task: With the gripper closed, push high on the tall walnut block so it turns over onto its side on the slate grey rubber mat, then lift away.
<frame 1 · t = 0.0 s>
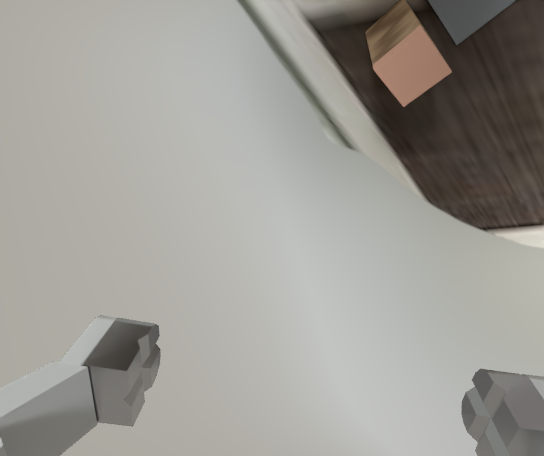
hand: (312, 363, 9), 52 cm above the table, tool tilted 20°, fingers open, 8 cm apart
walnut block: (396, 32, 50), on the table
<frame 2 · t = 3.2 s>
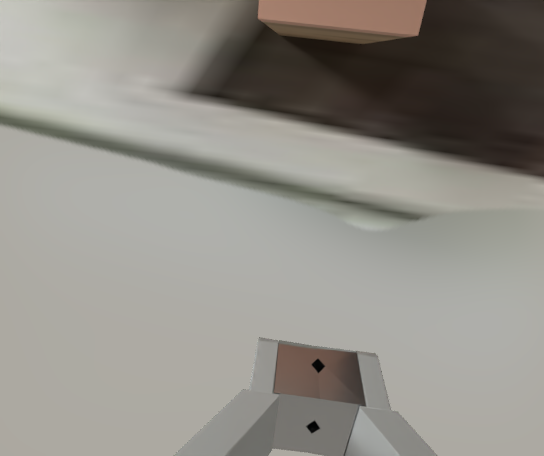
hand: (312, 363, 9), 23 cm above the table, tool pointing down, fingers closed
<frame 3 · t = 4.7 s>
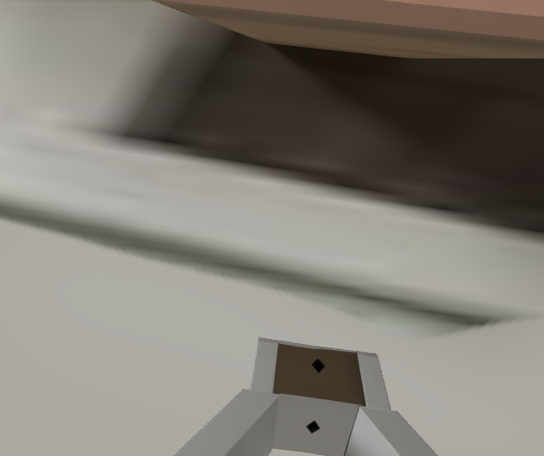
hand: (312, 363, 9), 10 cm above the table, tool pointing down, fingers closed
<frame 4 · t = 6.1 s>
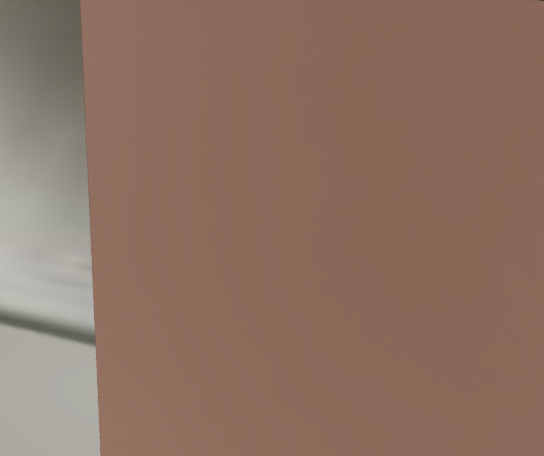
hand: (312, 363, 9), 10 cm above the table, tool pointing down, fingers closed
walnut block: (321, 168, 17), on the table, tilted 9°
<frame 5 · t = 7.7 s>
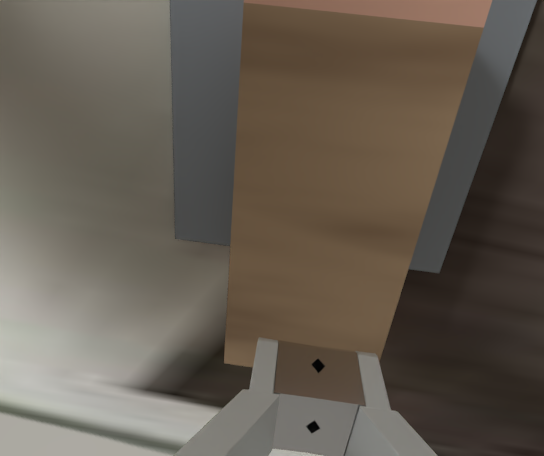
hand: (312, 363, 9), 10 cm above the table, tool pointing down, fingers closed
walnut block: (299, 323, 17), point 3 cm above the table, tilted 90°, touching mat
mat: (330, 94, 16), on the table
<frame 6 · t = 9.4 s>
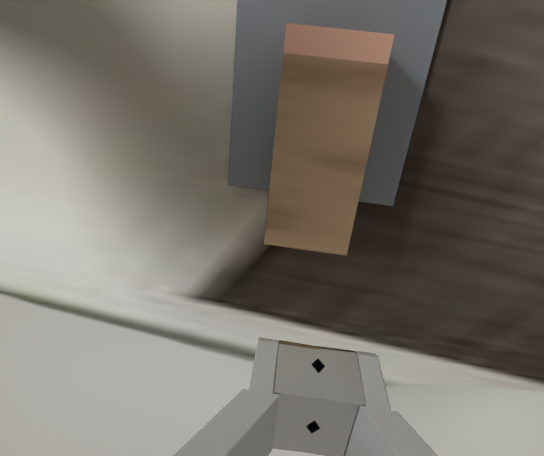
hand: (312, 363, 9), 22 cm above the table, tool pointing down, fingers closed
walnut block: (305, 232, 28), point 3 cm above the table, tilted 90°, touching mat
mat: (324, 95, 27), on the table
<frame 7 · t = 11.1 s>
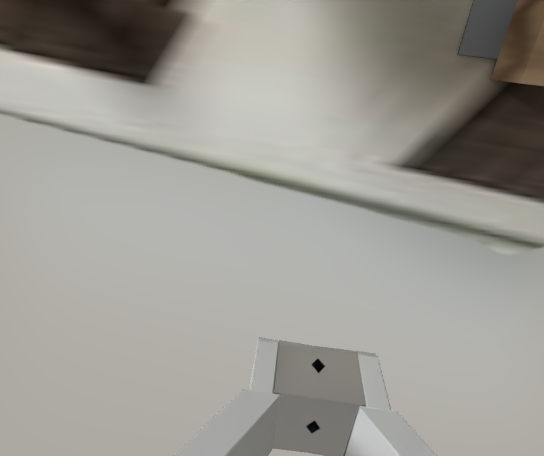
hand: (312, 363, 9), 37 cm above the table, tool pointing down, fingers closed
walnut block: (534, 84, 36), point 3 cm above the table, tilted 90°, touching mat
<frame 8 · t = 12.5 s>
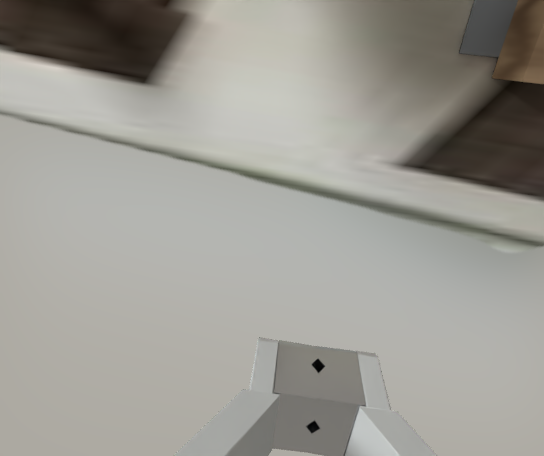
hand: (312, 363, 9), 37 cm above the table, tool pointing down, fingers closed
walnut block: (536, 83, 36), point 3 cm above the table, tilted 90°, touching mat
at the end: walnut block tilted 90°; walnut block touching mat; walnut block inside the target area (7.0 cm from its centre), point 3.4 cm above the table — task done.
